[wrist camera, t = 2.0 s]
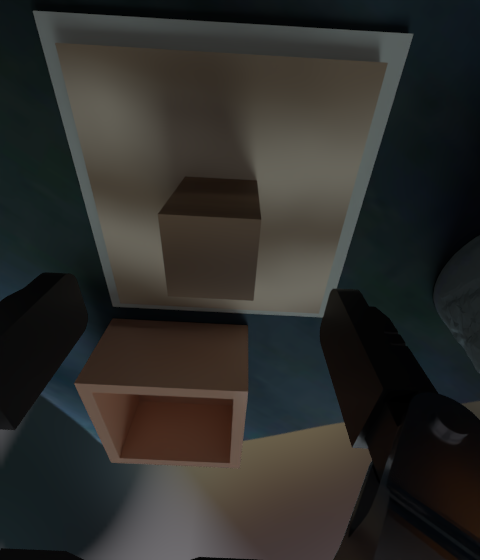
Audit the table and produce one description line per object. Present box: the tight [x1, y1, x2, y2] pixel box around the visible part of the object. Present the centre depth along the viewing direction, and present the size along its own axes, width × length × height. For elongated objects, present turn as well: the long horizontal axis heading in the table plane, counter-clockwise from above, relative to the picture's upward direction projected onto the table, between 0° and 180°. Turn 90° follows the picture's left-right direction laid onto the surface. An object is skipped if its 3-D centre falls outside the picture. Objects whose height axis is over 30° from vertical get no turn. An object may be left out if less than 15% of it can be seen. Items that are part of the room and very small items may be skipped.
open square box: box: [74, 318, 248, 468], centre depth 21 cm, size 10×10×6 cm
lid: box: [55, 43, 388, 314], centre depth 13 cm, size 13×13×6 cm
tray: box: [33, 11, 413, 317], centre depth 15 cm, size 15×15×1 cm
